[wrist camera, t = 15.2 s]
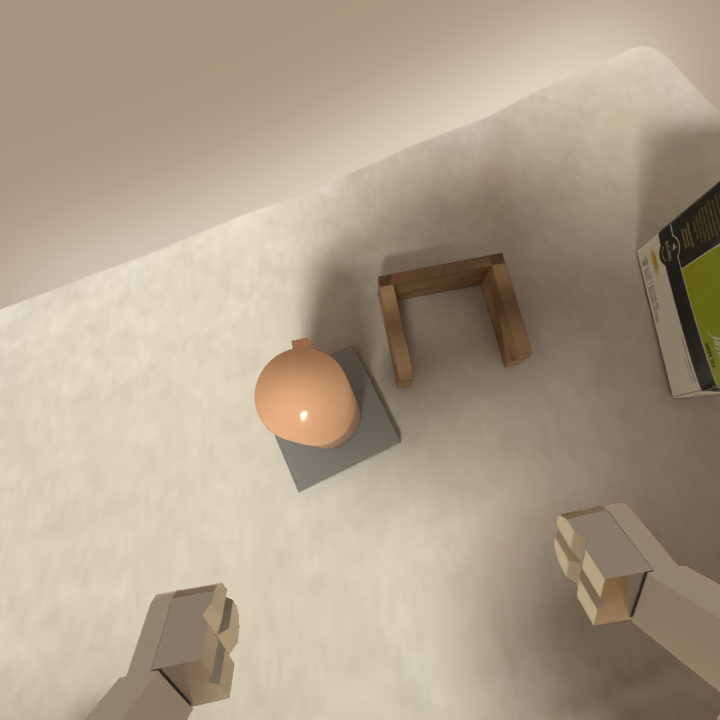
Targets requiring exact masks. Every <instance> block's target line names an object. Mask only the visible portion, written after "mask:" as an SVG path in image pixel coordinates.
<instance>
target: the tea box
mask: <svg viewBox="0 0 720 720" xmlns="http://www.w3.org/2000/svg"><path fill="white" fill-rule="evenodd" d="M637 254H638V258H639V262H640V266H641V270H642V274H643V278H644V282H645V286H646V290H647V295H648V299H649V302H650V306H651V311H652V315H653V319H654V323H655V327H656V331H657V335H658V339H659V343H660V347H661V351H662V355H663V359H664V363H665V367H666V371H667V376H668V380H669V384H670V388H671V392H672V396H673V397H674V398H682V397H695V396H705V395H717V394H720V181H719V182H718V183H717V184H716V185H715V186H713V187H712V188H711V189H710V190H708V191H707V192H706V193H705V194H704V195H703V196H701V197H700V198H699V199H698V200H697V201H695V202H694V203H693V204H692V205H691V206H689V207H688V208H687V209H686V210H685V211H683V212H682V213H681V214H680V215H679V216H678V217H676V218H675V219H674V220H673V221H672V222H670V223H669V224H668V225H667V226H665V227H664V228H663V229H662V230H661V231H660V232H659V233H658V234H656V235H655V236H654V237H653V238H652V239H650V240H649V241H648V242H647V243H646V244H645V245H643V246H642V247H641V248H640V249H639V250H638V251H637Z"/></svg>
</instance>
